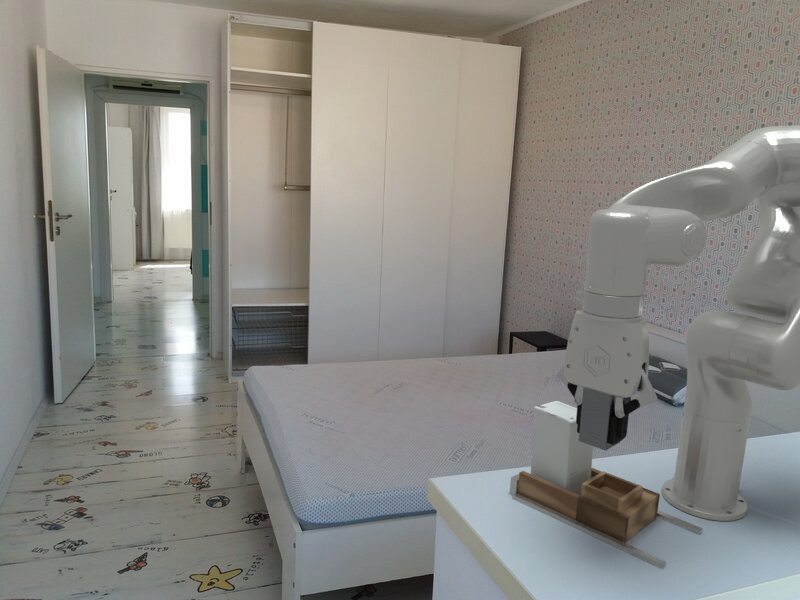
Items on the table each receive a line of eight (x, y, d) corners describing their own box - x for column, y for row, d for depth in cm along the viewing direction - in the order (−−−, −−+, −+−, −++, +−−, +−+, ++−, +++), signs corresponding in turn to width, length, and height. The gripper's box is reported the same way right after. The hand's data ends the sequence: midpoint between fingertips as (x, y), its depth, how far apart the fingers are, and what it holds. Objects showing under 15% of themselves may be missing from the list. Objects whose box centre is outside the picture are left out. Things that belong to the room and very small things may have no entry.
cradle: (554, 475, 111) (557, 443, 109) (656, 518, 98) (661, 481, 97) (517, 495, 103) (520, 460, 102) (622, 544, 90) (627, 505, 89)
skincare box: (589, 502, 102) (599, 415, 99) (563, 511, 99) (573, 421, 96) (551, 480, 109) (559, 398, 106) (525, 488, 106) (533, 404, 103)
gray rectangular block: (593, 433, 90) (598, 379, 88) (620, 442, 87) (625, 386, 85) (578, 441, 87) (583, 385, 85) (605, 450, 84) (611, 393, 82)
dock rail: (552, 471, 112) (554, 455, 112) (702, 533, 95) (704, 514, 94) (506, 496, 103) (507, 479, 102) (662, 570, 85) (664, 549, 84)
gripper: (541, 298, 86) (532, 425, 90) (663, 321, 75) (647, 466, 78) (571, 291, 91) (561, 412, 95) (689, 312, 80) (672, 448, 83)
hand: (600, 435), depth 87 cm, fingers closed on gray rectangular block, 4 cm apart
